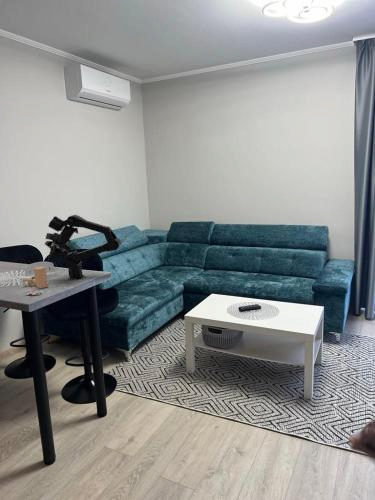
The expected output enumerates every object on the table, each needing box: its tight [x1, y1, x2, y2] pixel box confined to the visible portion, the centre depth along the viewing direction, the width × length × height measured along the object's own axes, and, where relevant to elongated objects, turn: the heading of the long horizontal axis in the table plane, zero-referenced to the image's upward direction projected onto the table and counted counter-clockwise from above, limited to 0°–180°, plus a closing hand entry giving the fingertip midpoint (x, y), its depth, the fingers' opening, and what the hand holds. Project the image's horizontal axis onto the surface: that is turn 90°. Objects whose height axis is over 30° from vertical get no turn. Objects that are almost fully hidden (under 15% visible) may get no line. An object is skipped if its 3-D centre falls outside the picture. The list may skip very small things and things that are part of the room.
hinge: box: [24, 261, 57, 282], centre depth 210 cm, size 17×5×10 cm, turn 114°
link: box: [26, 267, 49, 289], centre depth 191 cm, size 14×5×10 cm, turn 47°
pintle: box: [27, 277, 37, 287], centre depth 195 cm, size 6×6×4 cm
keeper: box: [18, 276, 32, 288], centre depth 192 cm, size 6×2×5 cm, turn 77°
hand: (48, 260), depth 192 cm, fingers closed
